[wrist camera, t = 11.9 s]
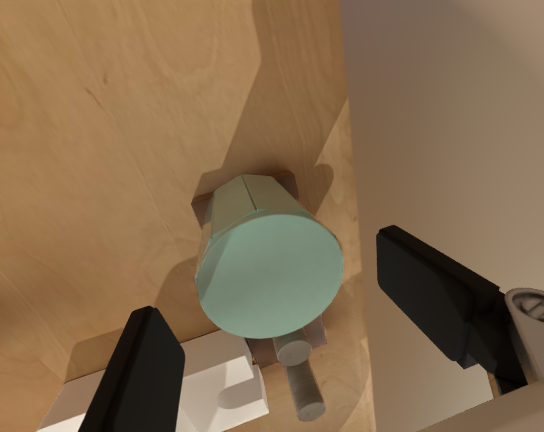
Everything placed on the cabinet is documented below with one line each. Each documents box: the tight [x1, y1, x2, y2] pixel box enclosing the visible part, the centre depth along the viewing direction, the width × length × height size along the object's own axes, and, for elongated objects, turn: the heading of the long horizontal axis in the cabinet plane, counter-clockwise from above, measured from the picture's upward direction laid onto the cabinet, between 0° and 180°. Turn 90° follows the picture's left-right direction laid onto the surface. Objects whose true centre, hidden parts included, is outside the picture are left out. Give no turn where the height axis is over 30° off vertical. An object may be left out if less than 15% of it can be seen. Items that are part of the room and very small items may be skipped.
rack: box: [191, 171, 327, 421], centre depth 19 cm, size 20×8×8 cm, turn 13°
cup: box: [195, 174, 344, 339], centre depth 14 cm, size 7×7×8 cm
